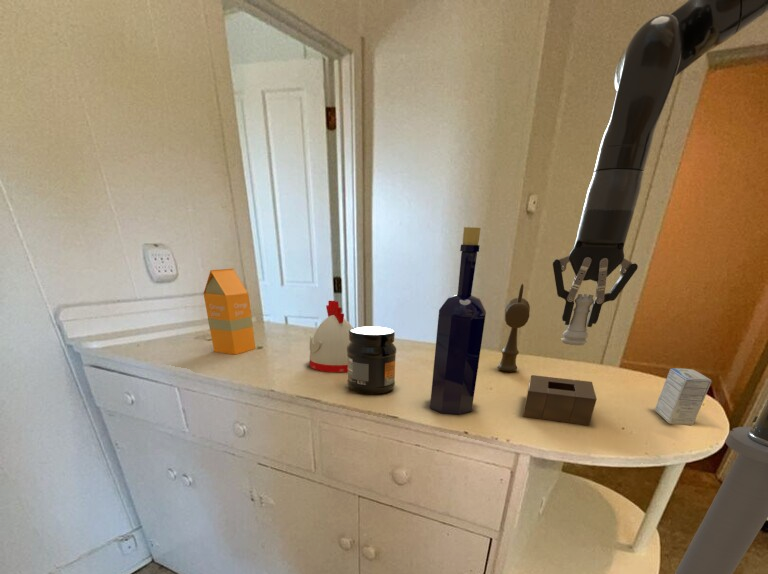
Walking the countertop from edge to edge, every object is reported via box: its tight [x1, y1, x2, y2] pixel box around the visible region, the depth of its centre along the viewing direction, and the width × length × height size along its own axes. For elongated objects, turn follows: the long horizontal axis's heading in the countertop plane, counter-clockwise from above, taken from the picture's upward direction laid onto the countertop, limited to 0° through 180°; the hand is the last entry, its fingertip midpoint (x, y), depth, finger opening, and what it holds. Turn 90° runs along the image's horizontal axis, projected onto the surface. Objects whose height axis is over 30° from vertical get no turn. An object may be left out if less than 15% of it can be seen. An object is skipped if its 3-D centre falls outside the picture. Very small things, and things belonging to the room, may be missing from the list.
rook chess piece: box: [560, 293, 595, 346], centre depth 76 cm, size 4×4×8 cm
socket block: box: [522, 374, 598, 426], centre depth 84 cm, size 12×12×5 cm
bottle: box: [428, 226, 487, 416], centre depth 77 cm, size 9×9×30 cm
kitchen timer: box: [309, 300, 354, 373], centre depth 106 cm, size 14×14×15 cm
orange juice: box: [202, 268, 256, 356], centre depth 115 cm, size 8×9×20 cm
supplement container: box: [347, 326, 397, 395], centre depth 91 cm, size 10×10×12 cm
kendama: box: [497, 283, 531, 373], centre depth 105 cm, size 6×10×20 cm, turn 165°
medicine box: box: [654, 367, 712, 427], centre depth 81 cm, size 8×4×9 cm, turn 170°
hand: (578, 324), depth 77 cm, fingers closed on rook chess piece, 3 cm apart
